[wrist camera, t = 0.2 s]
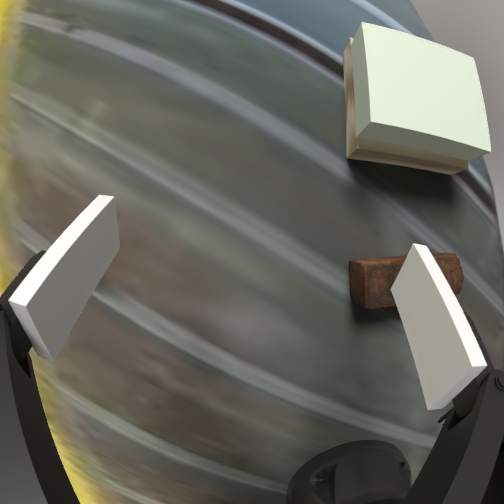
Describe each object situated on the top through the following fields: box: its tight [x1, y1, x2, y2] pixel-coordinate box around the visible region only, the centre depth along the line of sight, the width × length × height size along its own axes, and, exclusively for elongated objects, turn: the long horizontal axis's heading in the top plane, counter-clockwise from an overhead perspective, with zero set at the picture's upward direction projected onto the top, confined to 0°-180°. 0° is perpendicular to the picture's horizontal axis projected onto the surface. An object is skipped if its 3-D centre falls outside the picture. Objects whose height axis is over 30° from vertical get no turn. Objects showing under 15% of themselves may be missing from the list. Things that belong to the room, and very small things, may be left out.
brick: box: [350, 253, 464, 309], centre depth 26 cm, size 11×4×5 cm, turn 94°
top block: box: [351, 22, 491, 161], centre depth 22 cm, size 10×12×4 cm
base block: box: [343, 37, 468, 175], centre depth 26 cm, size 12×12×4 cm
